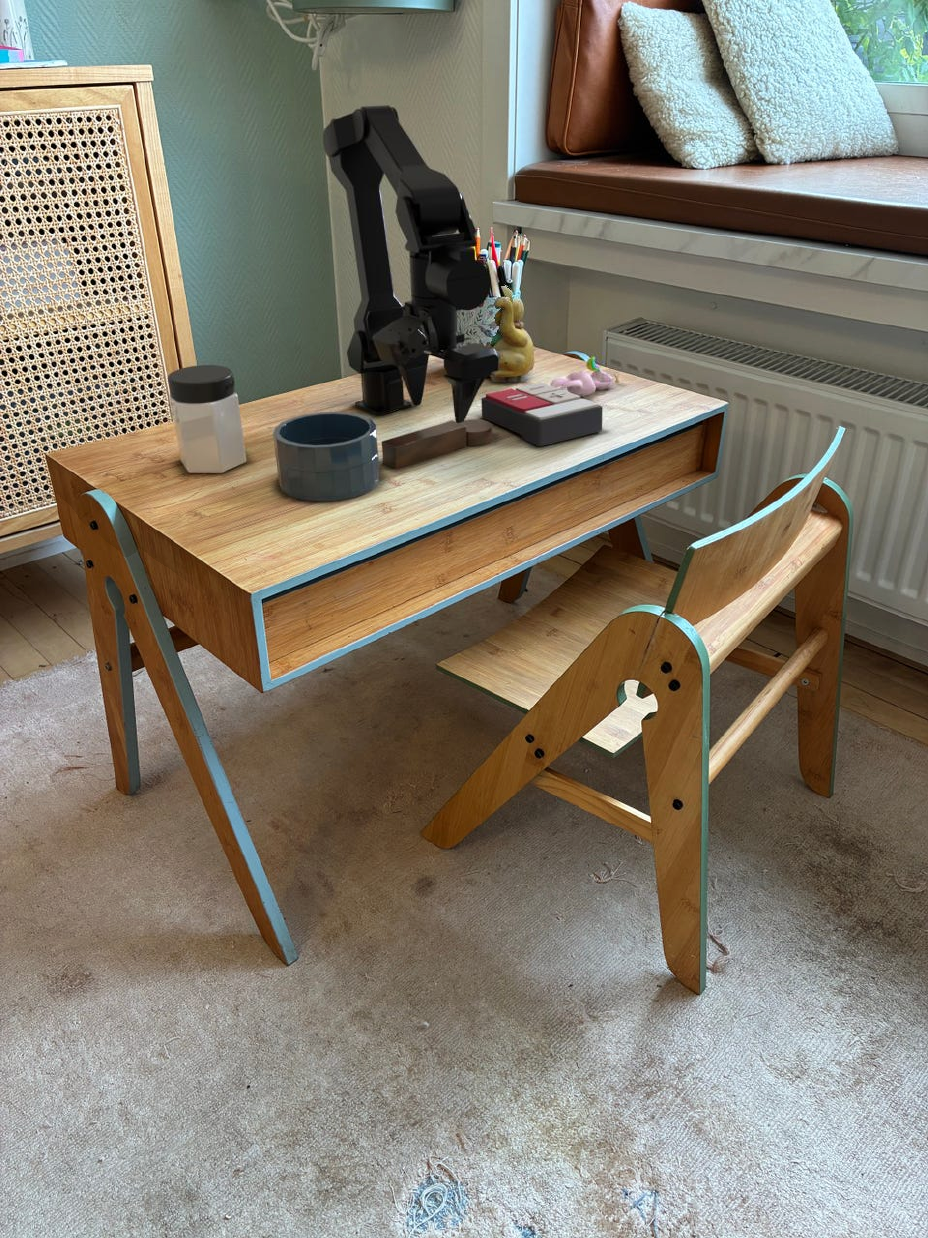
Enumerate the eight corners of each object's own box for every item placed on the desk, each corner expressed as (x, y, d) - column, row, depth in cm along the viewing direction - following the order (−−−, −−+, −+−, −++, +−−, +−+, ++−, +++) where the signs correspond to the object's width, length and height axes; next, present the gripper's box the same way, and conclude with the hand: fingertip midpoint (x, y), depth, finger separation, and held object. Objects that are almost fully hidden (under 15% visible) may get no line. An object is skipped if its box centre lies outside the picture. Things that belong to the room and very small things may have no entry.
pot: (261, 479, 126) (254, 427, 122) (343, 455, 132) (339, 404, 129) (314, 510, 117) (308, 455, 114) (399, 482, 124) (396, 429, 120)
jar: (253, 467, 129) (240, 378, 123) (191, 479, 126) (175, 388, 120) (235, 446, 136) (223, 360, 130) (176, 456, 133) (160, 369, 127)
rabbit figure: (593, 388, 159) (536, 396, 148) (598, 350, 157) (541, 356, 146) (625, 396, 155) (569, 405, 145) (631, 357, 153) (575, 363, 142)
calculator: (541, 379, 147) (604, 400, 136) (542, 407, 149) (603, 431, 138) (479, 392, 142) (538, 415, 131) (480, 421, 145) (539, 447, 133)
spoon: (401, 471, 127) (399, 449, 125) (377, 460, 130) (376, 439, 129) (500, 439, 136) (500, 418, 135) (475, 430, 140) (475, 409, 138)
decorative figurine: (477, 370, 164) (476, 277, 156) (525, 366, 166) (526, 273, 158) (492, 387, 156) (492, 290, 148) (542, 383, 158) (544, 286, 150)
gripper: (338, 291, 125) (348, 410, 133) (429, 318, 112) (433, 447, 120) (408, 277, 131) (413, 392, 139) (501, 301, 118) (501, 426, 126)
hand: (437, 413), depth 131 cm, fingers open, 9 cm apart
